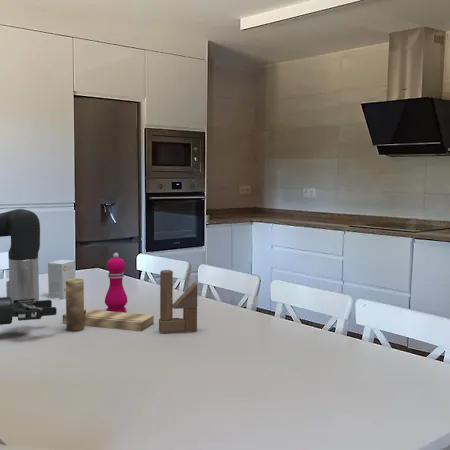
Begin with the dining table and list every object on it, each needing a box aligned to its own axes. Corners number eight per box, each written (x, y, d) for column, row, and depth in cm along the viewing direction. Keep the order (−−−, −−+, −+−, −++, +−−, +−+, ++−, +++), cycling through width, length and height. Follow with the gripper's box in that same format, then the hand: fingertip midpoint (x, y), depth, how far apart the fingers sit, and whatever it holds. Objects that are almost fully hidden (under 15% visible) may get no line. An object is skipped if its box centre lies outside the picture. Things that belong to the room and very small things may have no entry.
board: (62, 323, 172) (62, 314, 171) (78, 316, 180) (78, 308, 180) (141, 331, 164) (141, 322, 164) (153, 323, 173) (153, 314, 173)
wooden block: (197, 331, 165) (197, 270, 163) (160, 334, 162) (160, 272, 160) (194, 328, 168) (195, 268, 166) (158, 330, 165) (158, 269, 164)
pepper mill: (130, 311, 187) (129, 251, 185) (124, 317, 180) (123, 254, 178) (108, 310, 188) (108, 251, 186) (101, 316, 180) (101, 254, 179)
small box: (61, 293, 212) (61, 259, 211) (76, 295, 210) (75, 260, 209) (47, 298, 205) (47, 262, 203) (62, 299, 202) (62, 263, 201)
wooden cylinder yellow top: (63, 330, 164) (62, 281, 162) (77, 323, 171) (76, 276, 170) (78, 332, 162) (77, 282, 161) (92, 325, 170) (91, 277, 168)
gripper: (-9, 318, 163) (50, 313, 170) (-6, 332, 150) (57, 326, 157) (-9, 292, 162) (50, 289, 169) (-6, 304, 149) (58, 300, 156)
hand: (53, 307), depth 163 cm, fingers open, 8 cm apart
